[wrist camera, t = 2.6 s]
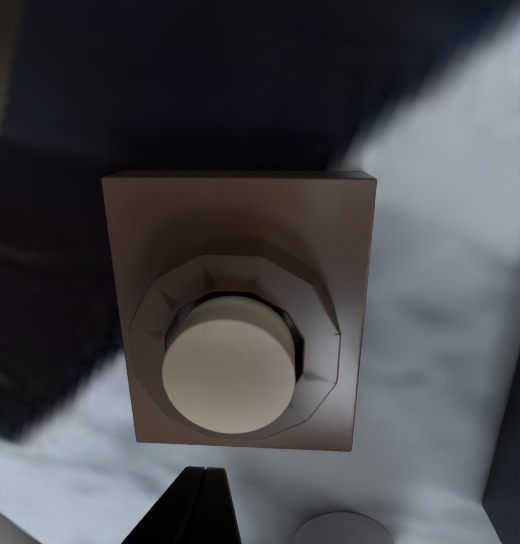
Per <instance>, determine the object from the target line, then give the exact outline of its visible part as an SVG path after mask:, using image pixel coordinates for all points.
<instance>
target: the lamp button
mask: <svg viewBox="0 0 520 544" xmlns="http://www.w3.org/2000/svg"><path fill="white" fill-rule="evenodd" d="M162 379H163V385H164V388H165V391H166V393H167V395H168V397H169V399H170V401H171V402H172V404H173V405H174V406H175V408H176V409H177V410H178V411H179V412H180V413H181V414H182V415H183V416H184V417H186V418H187V419H188V420H190V421H191V422H193V423H195V424H197V425H198V426H201V427H203V428H205V429H208V430H212V431H216V432H220V433H230V434H231V433H246V432H250V431H254V430H257V429H260V428H262V427H264V426H266V425H268V424H270V423H271V422H273V421H274V420H276V419H277V418H278V417H279V416H280V415H281V414H282V413H283V412H284V410H285V409H286V408H287V406H288V405H289V403H290V401H291V399H292V397H293V393H294V390H295V382H296V378H295V350H294V342H293V337H292V335H291V332H290V330H289V328H288V326H287V324H286V323H285V322H284V320H283V319H282V318H281V317H280V316H279V315H278V314H277V313H276V312H275V311H274V310H273V309H271V308H270V307H268V306H267V305H265V304H263V303H261V302H259V301H257V300H254V299H251V298H247V297H242V296H222V297H217V298H213V299H210V300H207V301H205V302H203V303H201V304H200V305H198V306H196V307H195V308H194V309H193V310H191V311H190V312H189V313H188V314H187V316H186V317H185V318H184V320H183V321H182V323H181V324H180V326H179V328H178V330H177V332H176V334H175V336H174V338H173V340H172V341H171V343H170V345H169V347H168V349H167V351H166V353H165V356H164V360H163V365H162Z"/></svg>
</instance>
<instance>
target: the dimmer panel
mask: <svg viewBox="0 0 520 544" xmlns="http://www.w3.org/2000/svg"><path fill="white" fill-rule="evenodd" d="M482 506H483V508H484V510H485V512H486V513H487V515H488V517H489V519H490V521H491V523H492V525H493V527H494V529H495V531H496V533H497V535H498V537H499V539H500V541H501V543H502V544H520V355H519V359H518V363H517V367H516V371H515V375H514V379H513V383H512V387H511V391H510V395H509V399H508V403H507V407H506V411H505V415H504V419H503V423H502V427H501V431H500V435H499V439H498V443H497V447H496V451H495V455H494V459H493V463H492V467H491V472H490V476H489V480H488V484H487V488H486V492H485V496H484V500H483V504H482Z"/></svg>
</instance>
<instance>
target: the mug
mask: <svg viewBox="0 0 520 544" xmlns="http://www.w3.org/2000/svg"><path fill="white" fill-rule="evenodd" d="M292 544H394V543H393V541H392V539H391V537H390V536H389V534H388V532H387V531H386V530H385V529H384V528H383V527H382V526H381V525H380V524H379V523H377V522H376V521H374V520H372V519H370V518H368V517H366V516H363V515H360V514H355V513H348V512H335V513H328V514H323V515H320V516H317V517H315V518H313V519H311V520H309V521H308V522H306V523H305V524H303V525H302V526H301V527H300V528H299V529H298V531H297V532H296V534H295V536H294V538H293V541H292Z"/></svg>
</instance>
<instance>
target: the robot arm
mask: <svg viewBox="0 0 520 544" xmlns="http://www.w3.org/2000/svg"><path fill="white" fill-rule="evenodd" d="M121 544H242V543H241V538H240V533H239V529H238V524H237V520H236V515H235V510H234V506H233V501H232V497H231V492H230V488H229V483H228V478H227V474H226V470H225V469H224V468H216V467H208V468H207V469H205V468H204V467H195V466H188V467H186V468H185V469H184V470H183V471H182V472H181V473H180V475H179V476H178V477H177V478H176V479H175V480H174V482H173V483H172V484H171V485H170V486H169V488H168V489H167V490H166V491H165V492H164V493H163V495H162V496H161V497H160V498H159V499H158V501H157V502H156V503H155V504H154V505H153V506H152V508H151V509H150V510H149V511H148V512H147V513H146V515H145V516H144V517H143V518H142V519H141V521H140V522H139V523H138V524H137V525H136V526H135V528H134V529H133V530H132V531H131V532H130V534H129V535H128V536H127V537H126V538H125V539H124V541H123V542H122V543H121Z"/></svg>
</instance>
